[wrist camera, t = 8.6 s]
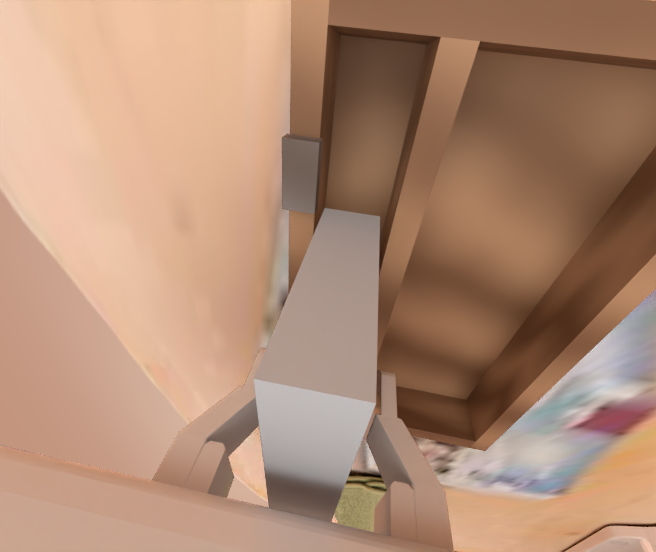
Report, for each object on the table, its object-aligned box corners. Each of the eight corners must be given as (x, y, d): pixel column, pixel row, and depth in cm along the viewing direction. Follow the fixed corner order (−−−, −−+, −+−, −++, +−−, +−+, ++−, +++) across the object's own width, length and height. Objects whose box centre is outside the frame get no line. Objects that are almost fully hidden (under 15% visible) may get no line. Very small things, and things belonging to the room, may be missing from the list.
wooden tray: (470, 394, 23) (487, 460, 19) (299, 361, 24) (283, 417, 20) (735, 41, 9) (978, 23, 6) (318, -2, 10) (281, -41, 6)
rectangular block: (345, 377, 16) (325, 541, 10) (310, 370, 16) (271, 529, 11) (381, 216, 10) (379, 403, 4) (324, 207, 10) (253, 379, 5)
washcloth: (435, 477, 34) (439, 510, 31) (416, 520, 44) (418, 547, 42) (329, 461, 36) (325, 490, 34) (334, 505, 47) (332, 530, 44)
